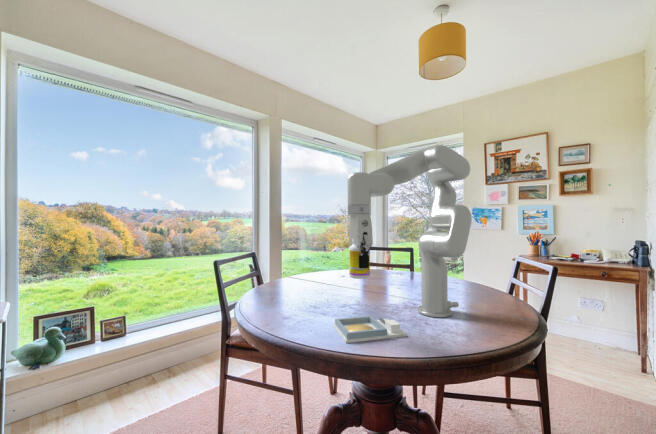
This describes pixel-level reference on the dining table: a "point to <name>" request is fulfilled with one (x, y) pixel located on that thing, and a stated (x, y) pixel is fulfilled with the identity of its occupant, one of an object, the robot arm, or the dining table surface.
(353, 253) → the supplement bottle
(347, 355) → the dining table surface
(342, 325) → the charging dock
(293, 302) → the dining table surface
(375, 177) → the robot arm
